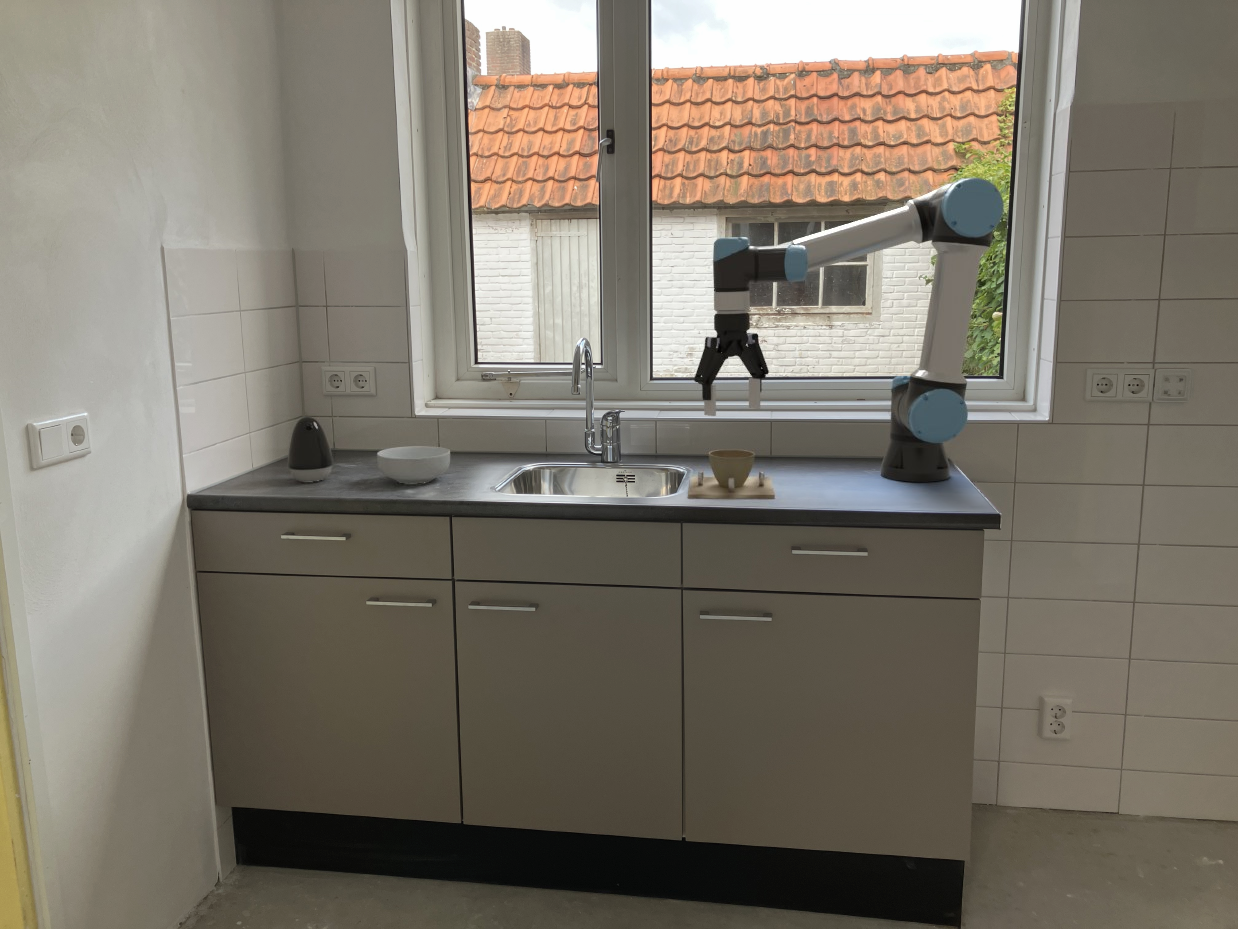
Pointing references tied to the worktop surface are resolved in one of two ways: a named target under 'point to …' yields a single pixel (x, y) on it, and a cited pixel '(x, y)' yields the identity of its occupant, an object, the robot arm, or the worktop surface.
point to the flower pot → (731, 466)
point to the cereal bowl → (413, 463)
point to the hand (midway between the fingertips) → (732, 411)
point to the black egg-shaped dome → (309, 451)
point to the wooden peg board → (731, 488)
